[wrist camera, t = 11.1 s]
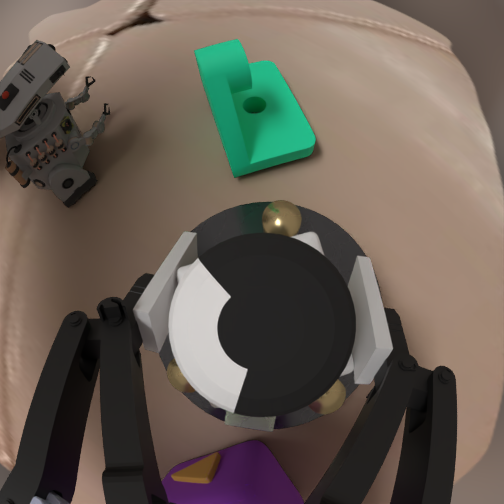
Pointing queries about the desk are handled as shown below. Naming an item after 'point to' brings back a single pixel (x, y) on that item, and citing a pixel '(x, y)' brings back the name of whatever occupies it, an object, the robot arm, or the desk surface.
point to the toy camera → (232, 478)
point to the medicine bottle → (262, 324)
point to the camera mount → (252, 109)
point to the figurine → (45, 126)
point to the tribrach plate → (250, 225)
